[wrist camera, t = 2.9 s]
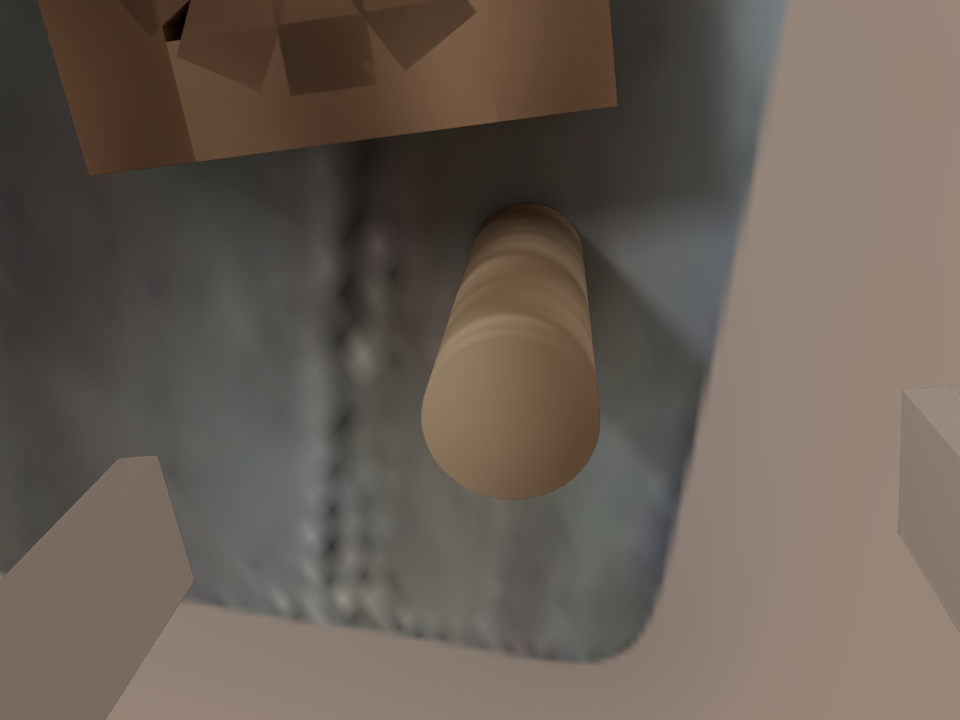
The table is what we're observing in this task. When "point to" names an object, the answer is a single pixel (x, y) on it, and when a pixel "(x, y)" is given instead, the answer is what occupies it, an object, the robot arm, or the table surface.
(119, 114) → the bore block
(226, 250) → the table surface
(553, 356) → the dowel pin
